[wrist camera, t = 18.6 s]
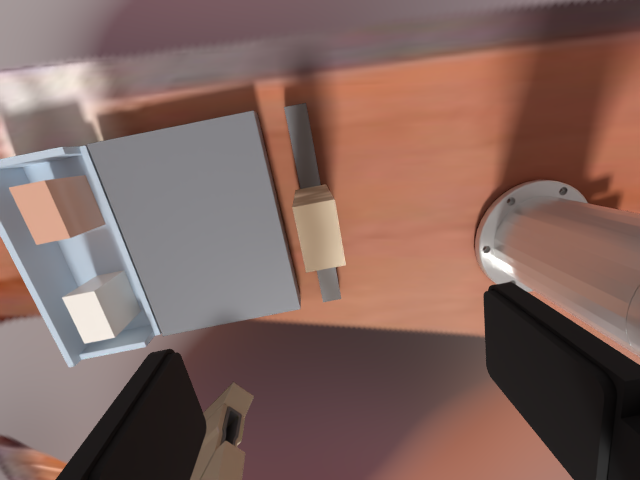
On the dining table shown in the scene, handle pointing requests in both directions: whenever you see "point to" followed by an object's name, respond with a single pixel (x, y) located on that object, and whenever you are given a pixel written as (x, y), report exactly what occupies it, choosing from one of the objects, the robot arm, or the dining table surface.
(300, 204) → the scraper
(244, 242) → the board
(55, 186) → the tile terracotta
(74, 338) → the box
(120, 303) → the tile cream
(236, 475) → the gun
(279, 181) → the dining table surface
